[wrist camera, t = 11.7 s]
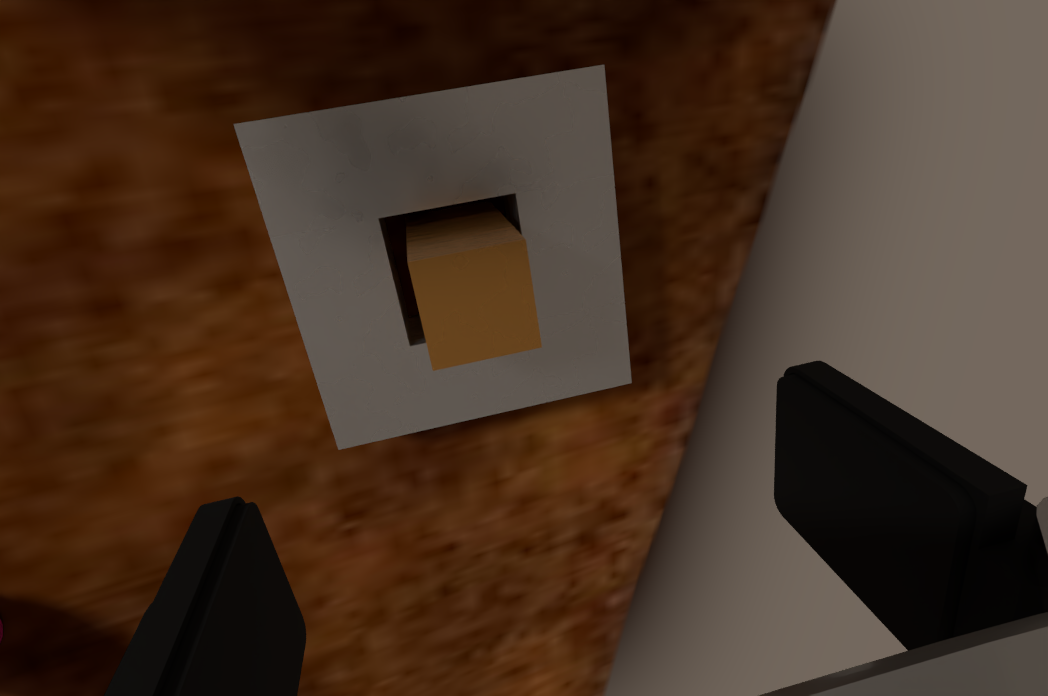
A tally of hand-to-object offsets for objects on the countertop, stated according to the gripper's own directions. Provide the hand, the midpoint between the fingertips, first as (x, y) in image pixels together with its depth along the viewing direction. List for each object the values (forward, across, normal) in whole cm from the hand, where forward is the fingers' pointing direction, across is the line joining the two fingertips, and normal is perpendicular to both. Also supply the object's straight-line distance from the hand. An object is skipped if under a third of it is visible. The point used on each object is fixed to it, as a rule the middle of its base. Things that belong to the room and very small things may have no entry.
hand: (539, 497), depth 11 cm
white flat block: (+20, 0, 0) cm, 20 cm away
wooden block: (+20, 0, 0) cm, 20 cm away
